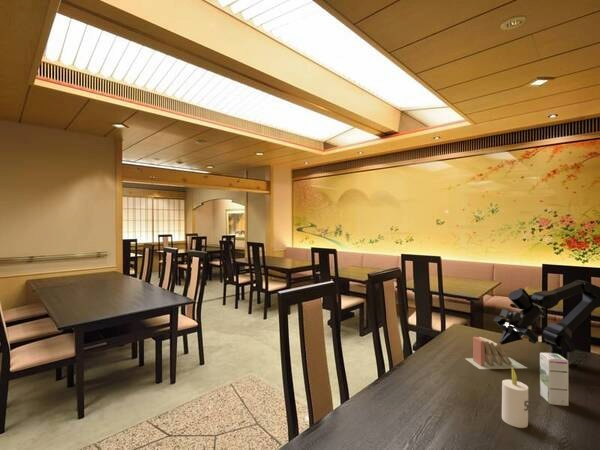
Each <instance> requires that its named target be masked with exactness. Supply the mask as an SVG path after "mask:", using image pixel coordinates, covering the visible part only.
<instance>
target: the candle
mask: <svg viewBox="0 0 600 450" xmlns="http://www.w3.org/2000/svg"><path fill="white" fill-rule="evenodd" d="M529 402H530V401H529V386H528V385H527V384H525V383H523V382H521V381H520V380H519V381H518V377H517V373H516V371H515V369H513V368H512V369H511V379H503V380H502V381H501V419H502V421H503V422H505V423H506V424H508V425H509V426H512V427H515V428H519V429H525V428H528V425H529Z"/></svg>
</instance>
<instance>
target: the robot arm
mask: <svg viewBox="0 0 600 450" xmlns="http://www.w3.org/2000/svg"><path fill="white" fill-rule="evenodd" d="M578 294H582V300H581V301H580V302H579V303H578V304H577V305H576V306H574V308H573V309H572V310H571V311H570V312H569V313H568V314H567V315H566V316H565V317H563V319H562V320H560V322H558V323H554V322H549V324H547V326H546V327H544V329H543V331H542V337H543V339H544V342H545V345H549V346H550V353H555V354H559V355H560V356H562V357H563V358H565V359H566V360H568V367H569V366H571V364H572V361H570V360H569V356H570V355H569V354H570V353H573V352H575V349H576V345H574V343H573V342H572V341H571V340H572V337H573V332H574V330H575V329H576V328H577V327H578V326H579V325H580V324H582V322H583V321H585V319H586V318H588V316H590V314H592V313H593V312H594V311H595V310H596V309H597V308H600V286H598V285H596V284H593V283H591V282H589V281H585V280H580V279H576V280H574V281H573V282H571V283H568V284H564V285H562V286H560V287H556V288H555V289H551V290H541V291H536V292H533V293H532V294H528V293H527V290H526V289H525V288H523V287H522V288H518V289H515V290H513V291H511V292H510V293H509V294H508V296H507V297H508V299H509V300H510V301H511V303H513V305H514V306H515V307H516V308H517V309H519V310H520V311H519V312H518V311H513V312H512V311H510V310H508V309H504V308H502V309H501V312H500V313H499V316H495V317H494V319H493V321H494V322H495V323H496V324H497V325H498V326H499V327H500V328H501V329H502V330H503V331H502V334H501V337H500V340H499V344H500V345H506V344H510V343H513V342H517V341H523V340H524V339H523V337H527V338H528V342H529V343H531V344H534V345H537V344H536V343H538V342H539V336H537V334H536V333H535V332H534V331H533V330H532V329H530V327H532V328H533V327H534V326H535V324H533V323H535V321H536V320H537V319H538V318H539V317H541V318H547V314H546V310H550V309H552V308H554V307H556V306H557V305H558V304H559V303H560V302H561V301H563V300H566V299H568V298H571V297H574V296H576V295H578ZM541 308H543V309H541ZM544 309H546V310H544Z"/></svg>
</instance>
